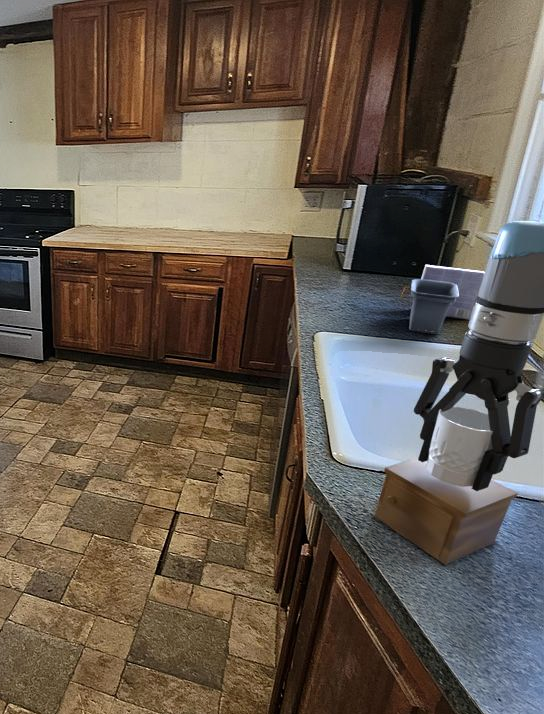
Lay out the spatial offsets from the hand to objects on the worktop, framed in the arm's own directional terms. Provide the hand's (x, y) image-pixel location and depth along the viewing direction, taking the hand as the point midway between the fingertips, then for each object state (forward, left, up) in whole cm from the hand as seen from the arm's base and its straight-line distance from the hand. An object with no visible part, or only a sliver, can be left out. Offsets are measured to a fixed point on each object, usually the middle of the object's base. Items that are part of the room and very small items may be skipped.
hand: (451, 472), depth 82 cm
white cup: (0, 0, 0) cm, 0 cm away
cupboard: (0, 0, -11) cm, 11 cm away
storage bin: (+71, -102, -11) cm, 125 cm away
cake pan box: (+77, -123, -11) cm, 145 cm away
